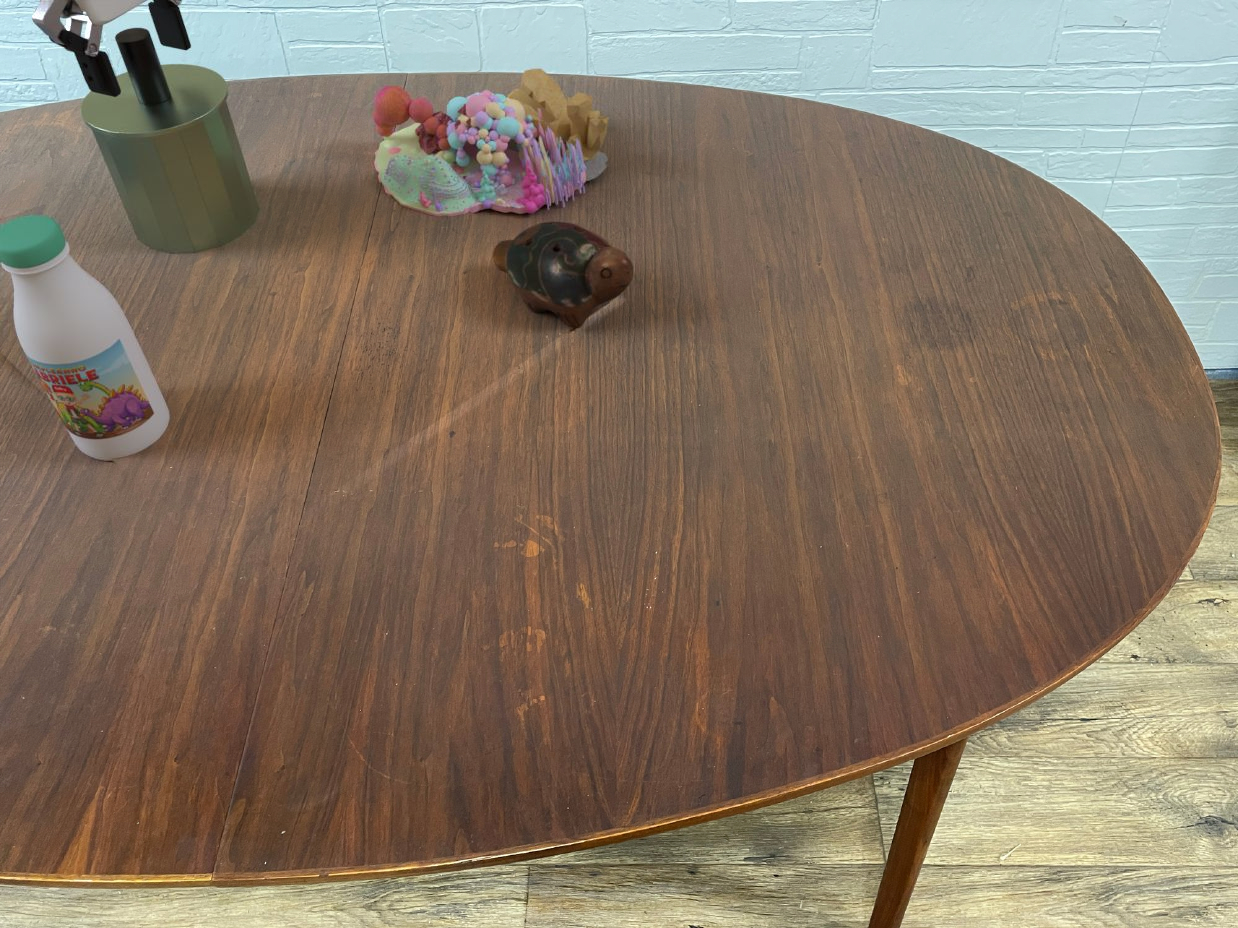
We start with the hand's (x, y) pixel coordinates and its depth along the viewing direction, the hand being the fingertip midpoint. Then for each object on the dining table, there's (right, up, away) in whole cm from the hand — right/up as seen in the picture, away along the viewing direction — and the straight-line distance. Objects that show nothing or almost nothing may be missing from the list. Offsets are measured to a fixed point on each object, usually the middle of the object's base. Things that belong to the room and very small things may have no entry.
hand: (142, 69), depth 97 cm
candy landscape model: (+30, -4, +19) cm, 36 cm away
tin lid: (0, -2, +2) cm, 3 cm away
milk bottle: (+2, -34, -9) cm, 35 cm away
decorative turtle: (+39, -21, +3) cm, 45 cm away
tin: (0, -11, +12) cm, 17 cm away
